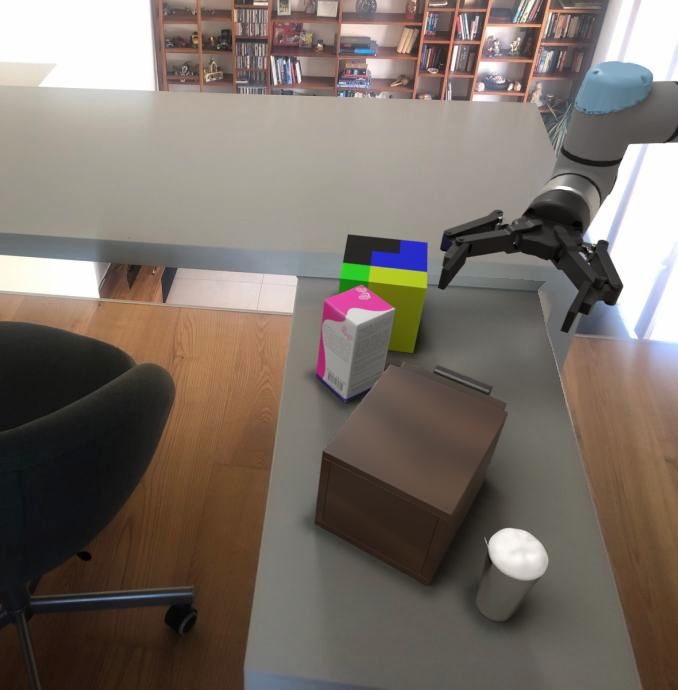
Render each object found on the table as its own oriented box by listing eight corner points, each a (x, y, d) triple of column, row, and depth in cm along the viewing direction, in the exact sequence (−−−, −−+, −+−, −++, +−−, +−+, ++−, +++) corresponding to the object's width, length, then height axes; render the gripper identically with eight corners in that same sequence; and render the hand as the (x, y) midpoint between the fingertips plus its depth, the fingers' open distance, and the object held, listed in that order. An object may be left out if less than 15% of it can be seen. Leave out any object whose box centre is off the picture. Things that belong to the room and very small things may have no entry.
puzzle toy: (414, 305, 94) (427, 242, 87) (413, 353, 86) (427, 288, 80) (340, 296, 96) (347, 234, 89) (332, 342, 88) (340, 278, 82)
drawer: (409, 395, 80) (422, 335, 74) (501, 434, 75) (523, 374, 69) (336, 496, 69) (345, 436, 63) (438, 550, 64) (457, 490, 58)
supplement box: (383, 384, 82) (397, 308, 75) (344, 404, 80) (355, 327, 73) (351, 357, 86) (362, 282, 79) (313, 375, 84) (321, 299, 76)
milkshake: (452, 580, 63) (477, 514, 56) (512, 581, 63) (544, 515, 56) (464, 628, 59) (492, 564, 53) (528, 630, 59) (563, 565, 53)
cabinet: (376, 436, 76) (390, 363, 69) (481, 485, 71) (508, 412, 64) (313, 523, 68) (322, 450, 61) (427, 586, 62) (451, 515, 55)
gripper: (654, 272, 85) (613, 369, 72) (458, 214, 96) (392, 289, 83) (680, 218, 80) (640, 313, 67) (469, 164, 91) (401, 235, 78)
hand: (502, 300), depth 75 cm, fingers open, 13 cm apart
